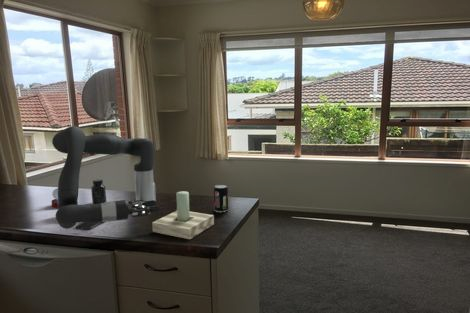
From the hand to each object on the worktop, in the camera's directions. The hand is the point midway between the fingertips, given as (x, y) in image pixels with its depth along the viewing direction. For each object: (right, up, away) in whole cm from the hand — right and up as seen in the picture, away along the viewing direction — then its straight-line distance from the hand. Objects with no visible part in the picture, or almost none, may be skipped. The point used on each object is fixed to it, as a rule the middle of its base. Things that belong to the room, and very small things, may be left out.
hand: (157, 205), depth 144 cm
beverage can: (+25, -6, +27) cm, 37 cm away
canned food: (-57, -6, +40) cm, 70 cm away
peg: (+10, -10, +6) cm, 15 cm away
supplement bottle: (-39, -5, +43) cm, 59 cm away
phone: (-30, -10, +13) cm, 34 cm away
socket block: (+10, -10, +6) cm, 15 cm away
